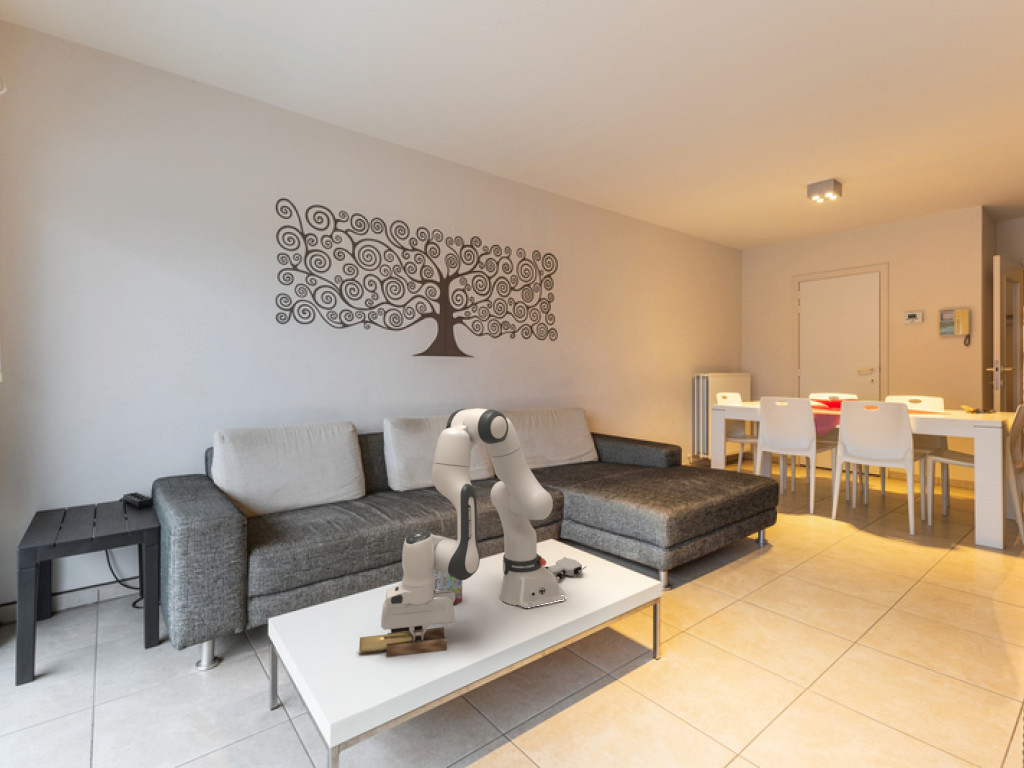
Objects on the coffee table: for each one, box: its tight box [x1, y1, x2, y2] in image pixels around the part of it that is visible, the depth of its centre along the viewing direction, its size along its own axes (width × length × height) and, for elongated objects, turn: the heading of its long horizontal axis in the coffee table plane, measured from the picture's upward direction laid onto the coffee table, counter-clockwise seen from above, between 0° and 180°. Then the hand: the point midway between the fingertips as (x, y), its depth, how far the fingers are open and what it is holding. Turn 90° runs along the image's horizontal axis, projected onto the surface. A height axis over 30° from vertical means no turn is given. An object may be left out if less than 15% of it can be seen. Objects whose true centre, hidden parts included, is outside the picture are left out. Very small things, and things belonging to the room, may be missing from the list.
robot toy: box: [544, 556, 588, 581], centre depth 193 cm, size 12×4×15 cm
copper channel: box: [386, 626, 448, 658], centre depth 142 cm, size 16×8×2 cm, turn 103°
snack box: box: [433, 571, 463, 606], centre depth 175 cm, size 21×6×15 cm, turn 50°
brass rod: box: [358, 632, 412, 654], centre depth 140 cm, size 14×4×4 cm, turn 103°
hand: (418, 640), depth 142 cm, fingers closed
